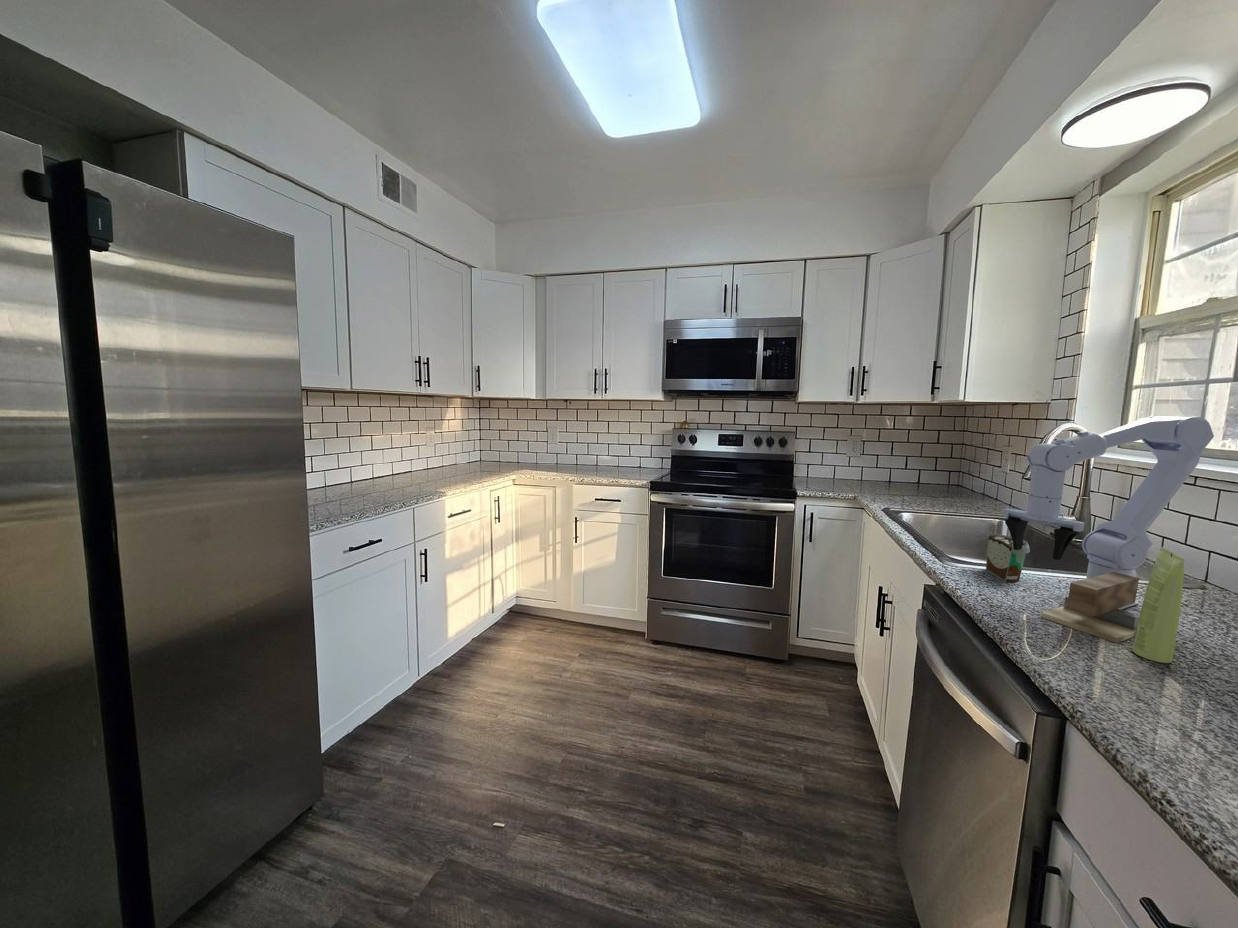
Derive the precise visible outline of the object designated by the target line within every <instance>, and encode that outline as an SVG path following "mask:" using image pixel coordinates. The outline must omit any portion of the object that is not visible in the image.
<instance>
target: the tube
mask: <svg viewBox="0 0 1238 928" xmlns="http://www.w3.org/2000/svg"><path fill="white" fill-rule="evenodd" d="M1184 561H1185V558H1184V557H1182V556H1180V555H1178V554H1175V553H1174V552H1172V551H1170V550H1168V549H1167V548H1165V547H1163V546H1160V550H1159V552H1158V554H1157V556H1156V559H1155V562H1154V564H1153V566H1152V567H1153V568H1152V571H1151V574H1150V577H1149V580H1148V583H1147V587H1146V591H1145V594H1144V597H1143V601H1142V604H1141V608H1140V612H1139V615H1140V616H1139V620H1138V624H1137V629H1136V633H1135V636H1134V637H1133V638H1134V639H1133V642H1132V647H1131V651H1132V652H1133V653H1135V654H1136V655H1137V656H1140V658H1143V659H1146V660H1149V661H1152V662H1157V663H1161V664H1162V663H1163V664H1169V663H1172V662H1173V658H1174V654H1175V647H1176V640H1177V636H1178V629H1179V628H1178V627H1179V623H1180V615H1181V607H1182V606H1181V605H1182V599H1183V589H1184V578H1185V577H1184V575H1185V563H1184Z"/></svg>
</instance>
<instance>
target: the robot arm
mask: <svg viewBox="0 0 1238 928" xmlns="http://www.w3.org/2000/svg"><path fill="white" fill-rule="evenodd" d="M1214 437H1215V436H1214V432H1213V429H1212V426H1211V424H1210V422H1209V421H1208V420H1207V419H1206V418H1204V417H1201V416H1190V417H1189V416H1185V417H1184V416H1164V415H1163V416H1162V415H1150V416H1147V417H1143V418H1138V419H1137V420H1136V421H1132V422H1130V423H1126V424H1125V425H1122V426H1117V427H1116V428H1114V429H1111V430H1108V431H1107V430H1106V431H1104V432H1101V433H1097V432H1095V431H1088V430H1081V431H1078V432H1076V435H1073V436H1070V437H1067V438H1064V439H1063V438H1057V439H1055V440H1054V442H1053V443H1039V444H1036V445H1034V447H1033V448H1031V450H1030V451H1029V453H1028V454H1026V460H1027V463H1028V464H1029V466H1030V470H1029V471H1030V473H1031V474H1030V475H1031V476H1030V481H1029V482H1030V483H1029V491H1028V496H1027V502H1026V503H1027V504H1026V510H1021V509H1016V508H1015V509H1013V508H1004V509H1003V513H1002V517H1004V518H1007V519H1005V520H1004V521H1005V522H1004V523H1005V525H1006V527H1007V529H1008V531H1009V533H1010V537H1012V541H1013V548H1014V550H1020V549H1022V546H1023V540H1024V537H1025V536H1024V535H1025V532H1026V528H1027V525H1028V523H1029V522H1031V523H1035V524H1041V525H1046V526H1051V527H1056V528H1054V529H1053V533H1054V534H1053V535H1054V547H1053V552H1052V560H1055V561H1059V560H1062V558H1063V556H1064V554H1065V551H1066V549H1067V548H1068V547H1069V545H1070V543H1072V541H1073V540H1074V539H1075V538H1076V536H1078V535H1079V534H1080V532H1084V531H1085V530H1084V529H1085V522H1084V521H1079V520H1075V519H1074V520H1073V519H1070V518H1066V517H1062V516H1060V513H1061V505H1062V500H1063V499H1062V498H1063V492H1064V491H1063V490H1064V487H1065V477H1066V471H1069V470H1070V469H1071V468H1073V466H1074V465H1075V464H1077V463H1081V462H1084V461H1087V460H1091V459H1095V458H1097V457H1101V456H1103V455H1104V454H1105V453H1106V452H1107V449H1109V448H1113V447H1116V446H1121V445H1125V444H1128V443H1133V442H1137V441H1142V442H1143V444H1144V445H1145V446H1146V447H1147V448H1148V450H1149V451H1150V452H1151V454H1152V455H1153V456H1155V457H1156V459H1157V462H1156V464H1155V465H1153V467H1152V469H1151V470H1150V471H1149V472H1148V474H1147V475H1146V476H1145V478H1144V479H1143V480H1142V482H1141V483H1140V485H1138V487H1137V489H1135V491H1134V493H1133V494H1132V495H1131V496H1130V498H1129V499H1128V500H1127V502H1126V503H1125V504H1124V505H1123V507H1122V509H1120V511H1119V512H1118V514H1117V516H1115V518H1114V519H1112V520H1108V521H1105V522H1102V523H1099V524H1098V526H1097V527H1096V528H1094V529H1093V530H1092V531H1091V532H1088V533H1087V534H1086V535H1085V536H1084V537H1083V539H1082V541H1081V547H1082V550H1083V551H1084V553H1086V555H1087V557H1086V559H1088V564H1087V565H1088V566H1087V570H1086V571H1087V572H1086V578H1085V579H1088V578H1092V577H1096V576H1100V575H1104V574H1108V573H1111V572H1116V573H1120V574H1124V575H1128V576H1132V577H1136V578H1138V573H1137V572H1136V570H1137V569H1138V567H1141V566H1142V565H1143V564H1144V563H1145V561H1146V560H1147V557H1148V552H1149V550H1150V548H1151V547H1152V545H1153V542H1152V540H1151V539H1150V537H1149V536H1148V535H1147V532H1148V530H1149V529H1150V527H1151V526H1152V525H1153V524H1154V522H1156V520H1157V519H1158V517H1159V516H1160V515H1161V513H1162V512H1163V510H1164V509H1166V506H1167V505H1168V504H1169V503H1170V501H1171V500H1172V499H1173V497H1174V496H1175V495H1176V493H1178V491H1179V489H1180V488H1182V486H1183V484H1185V482H1186V480H1188V478H1189V476H1190V475H1191V474H1192V473H1193V472H1194V470H1195V469H1196V467H1197V466H1198V465H1199V463H1200V458H1201V455H1202V453H1203V452H1204V450H1205V449H1206V448H1207V447H1208V445H1209V444H1210V442H1212V440H1213V439H1214ZM1139 604H1140V601H1137V600H1135V603H1134V604H1131V605H1128V606H1125V607H1121V608H1118V609H1120V610H1124V609H1128V608H1130V607H1133V606H1136V605H1139Z"/></svg>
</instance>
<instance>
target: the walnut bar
mask: <svg viewBox="0 0 1238 928" xmlns="http://www.w3.org/2000/svg"><path fill="white" fill-rule="evenodd" d="M1139 581H1140V578H1139V577H1137V578H1136V577H1132V576H1128V575H1124V574H1120V573H1116V572H1111V573H1108V574H1104V575H1100V576H1096V577H1092V578H1088V579H1086V578H1084V579H1082V580H1075V581H1072V582H1070V585H1069V592H1068V596H1069V597H1068V604H1067V609H1069V610H1072V611H1075V612H1078V613H1082V614H1085V615H1088V616H1091V617H1093V616H1097V615H1100V614H1103V613H1106V612H1109V611H1112V610H1115V609H1118V608H1121V607H1125V606H1128V605H1131V604H1134V603H1135V601H1136V599H1137V598H1136V597H1137V592H1138V588H1139Z"/></svg>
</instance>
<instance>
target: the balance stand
mask: <svg viewBox="0 0 1238 928" xmlns="http://www.w3.org/2000/svg"><path fill="white" fill-rule="evenodd" d="M1068 597H1069V595H1067V596H1065V599H1064V603H1063V605H1062V606H1060V607H1056V608H1052V609H1049V610H1045V611H1042V612H1041V613H1040V617H1041V618H1043V619H1046V620H1049V621H1051V622H1054V623H1057V624H1060V625H1064V626H1066V627H1068V628H1072V629H1074V630H1077V631H1080V632H1083V633H1086V634H1090V635H1092V636H1095V637H1098V638H1101V639H1105V640H1106V641H1110V642H1113V643H1115V644H1118V643H1121V642H1124V641H1127V640H1129V639H1132V638H1135V633H1136V629H1137V624H1138V620H1139V616H1140V614H1136V613H1133V612H1130V611H1126V610H1124V609H1121V610H1120V609H1115V610H1112V611H1109V612H1106V613H1103V614H1100V615H1097V616H1093V617H1091V616H1088V615H1085V614H1082V613H1078V612H1075V611H1072V610H1069V609H1067V604H1068Z"/></svg>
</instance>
